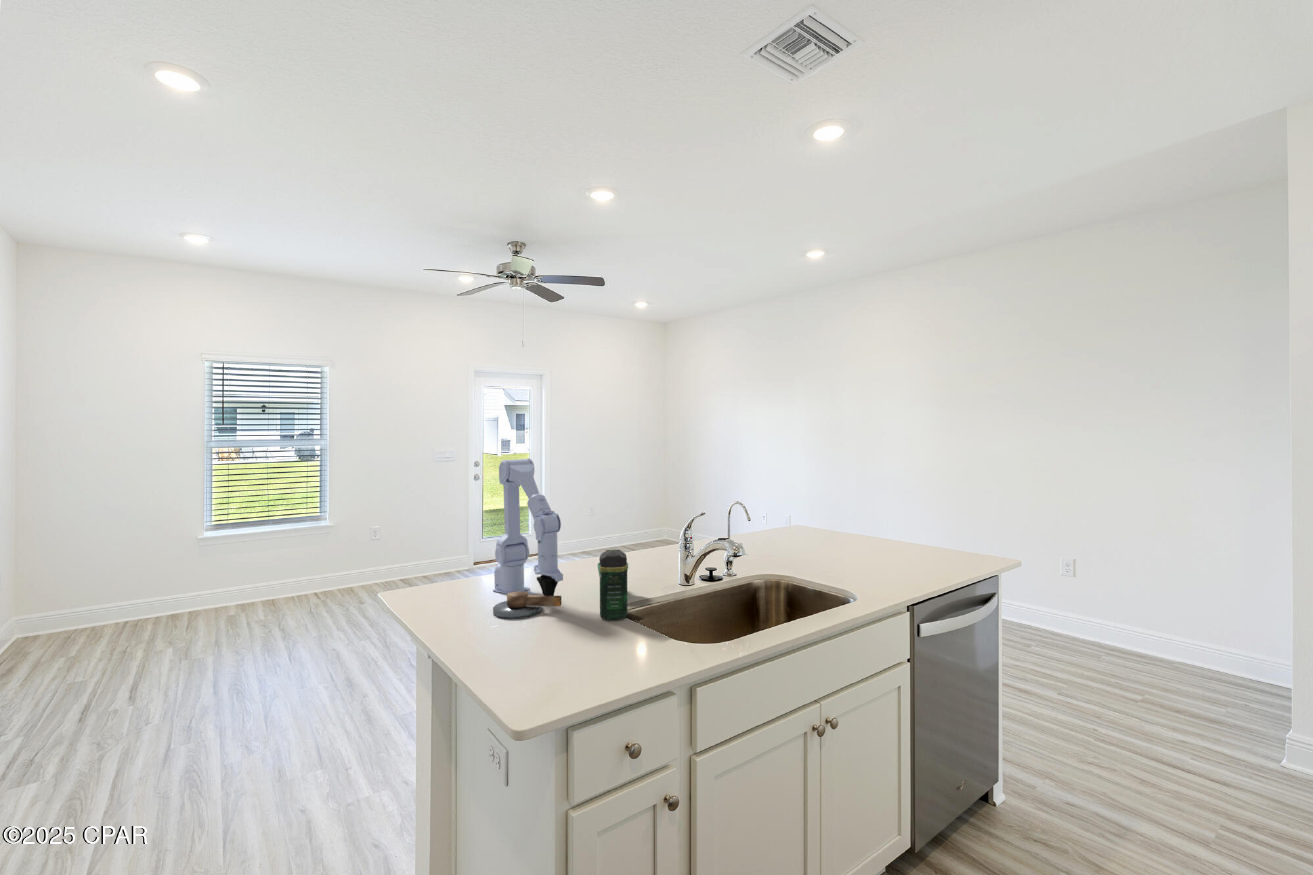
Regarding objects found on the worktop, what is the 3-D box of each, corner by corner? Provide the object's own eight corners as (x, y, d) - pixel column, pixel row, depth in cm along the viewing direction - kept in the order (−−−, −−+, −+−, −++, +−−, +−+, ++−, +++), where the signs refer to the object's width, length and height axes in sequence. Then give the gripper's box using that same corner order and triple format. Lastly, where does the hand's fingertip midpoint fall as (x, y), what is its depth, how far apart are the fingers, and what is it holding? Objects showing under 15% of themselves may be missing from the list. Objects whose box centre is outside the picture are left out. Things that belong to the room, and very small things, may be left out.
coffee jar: (628, 621, 164) (627, 554, 164) (599, 622, 164) (598, 555, 163) (627, 610, 174) (626, 547, 173) (600, 611, 173) (599, 547, 173)
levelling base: (482, 614, 172) (482, 608, 172) (517, 601, 184) (517, 595, 184) (517, 622, 165) (517, 616, 164) (551, 608, 176) (551, 602, 176)
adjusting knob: (503, 607, 172) (503, 597, 171) (511, 601, 177) (511, 591, 177) (557, 608, 170) (557, 598, 170) (563, 602, 176) (563, 592, 175)
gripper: (524, 552, 179) (525, 597, 179) (547, 561, 167) (548, 609, 168) (545, 549, 183) (546, 592, 183) (569, 557, 172) (569, 604, 172)
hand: (548, 600), depth 176 cm, fingers closed
